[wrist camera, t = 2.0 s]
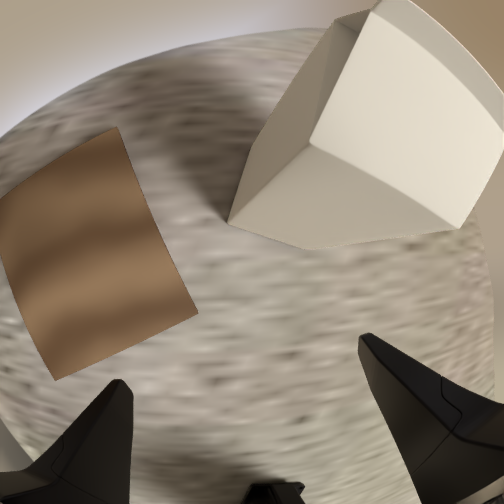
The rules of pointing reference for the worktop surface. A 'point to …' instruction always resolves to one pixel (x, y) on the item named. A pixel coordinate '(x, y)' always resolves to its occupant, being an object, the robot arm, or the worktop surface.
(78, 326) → the cutting board
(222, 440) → the worktop surface
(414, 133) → the milk carton
